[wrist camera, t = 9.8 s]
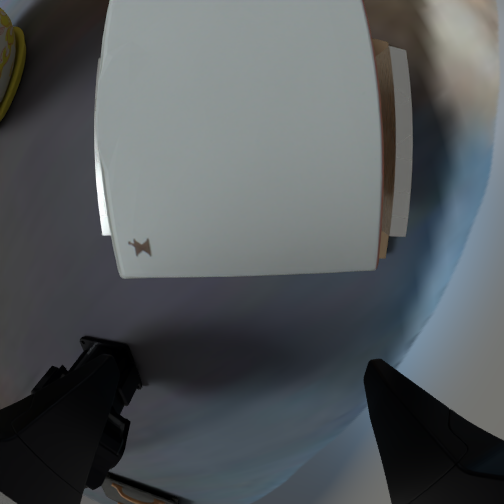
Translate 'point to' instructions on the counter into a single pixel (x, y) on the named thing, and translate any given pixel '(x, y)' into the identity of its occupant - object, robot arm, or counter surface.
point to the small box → (240, 137)
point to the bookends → (394, 133)
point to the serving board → (131, 494)
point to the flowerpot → (10, 61)
